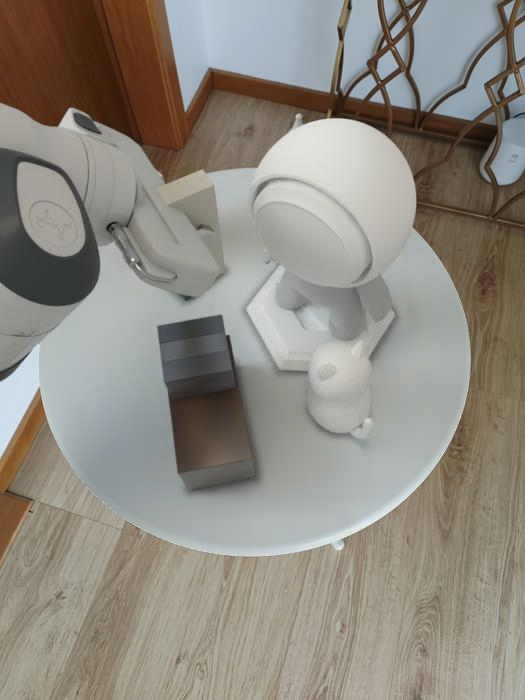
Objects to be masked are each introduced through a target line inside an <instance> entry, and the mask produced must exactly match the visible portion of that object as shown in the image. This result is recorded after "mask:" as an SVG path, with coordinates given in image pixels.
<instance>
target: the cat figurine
mask: <svg viewBox="0 0 525 700" xmlns="http://www.w3.org/2000/svg"><path fill="white" fill-rule="evenodd" d="M372 370H373V368H372V363H371V360H370V357H369V358H368V356H367V355H366V345H365V342H364V341H362V340H360V341H358V342H357V343H356V344H355V345H354V344H351V343H347V342H337V341H330V342H326V343H323V344H321V345H320V346H318V347H317V348H316V349H315V351H314V352H313V354H312V356H311V359H310V364H309V371H308V372H307V377H308V382H309V384H308V385H307V388H306V393H305V403H306V407H307V410H308V413H309V414H310V415H311V417H312V419H313V420H314V421H315V422H316V423H317V424H318V425H319V426H321V427H322V428H324V429H325V430H327V431H329V432H331V433H336V434H347V433H349V434H350V435H351V436H352V437H353V438H355V439H357V440H367V439H369V438H371V437H372V436H373V435H374V432H375V430H376V429H375V428H376V425H375V421H374V420H373V419H372V417H369V416H370V413H371V406H372V399H373V398H372V397H373V396H372V390H371V386H370V380H371V377H372ZM360 425H362V427H360Z"/></svg>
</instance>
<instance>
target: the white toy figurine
mask: <svg viewBox="0 0 525 700" xmlns="http://www.w3.org/2000/svg"><path fill="white" fill-rule="evenodd" d="M288 132H289V131H288ZM288 132H287V133H286V134H285V135H284V136H282V137H281V138H280V139H278V140H277V141H276V142H275V143H274V144H273V145H272V147H270V149H269V150H268V151H267V152H266V154H265V155H264V157H262V159H261V161H260V163H259V164H258V166H257V168H256V170H255V172H254V175H253V176H252V181H251V183H250V187H249V192H248V209H249V215H250V218H251V220H252V223H253V225H254V227H255V231H256V233H257V236H258V238H259V240H260V242H261V243H262V244H261V245H263V247H264V248H263V251H262V260H263V263H264V264H265V265H268V264H270V263H271V262H276V263H277V265H278V266H277V267H276V269H275V271H273V273H272V274H271V275H270V277H269V278H268V279H267V281H266V282H265V283H264V284H263V286H262V287H261V288H260V290H259V291H258V292H257V294H255V296H254V297H253V299H252V300H251V301H250V302H249V304H248V305H247V306H246V309H245V310H246V312H247V314H248V316H249V318H250V320H251V322H252V323H253V325H254V326H255V328H256V330H257V332H258V334H259V335H260V338H261V339H262V341H263V343H264V345H265V346H266V348H267V350H268V352H269V353H270V356H271V357H272V359H273V361H274V362H275V364H276V366H277V368H278V369H279V371H287V372H289V371H290V372H307V373H308V371H309V364H310V359H311V356H312V354H313V352H314V351H315V349H316V348H317V347H318V346H320V345H321V344H323V343H326V342H330V341H337V342H347V343H351V344H354V345H355V344H356V343H357V342H358V341H360V340H362V341H364V342H365V345H366V355H367V356H368V358H369V359H370V357H371V355H372V353H373V352H374V350H375V348H376V347H377V345H378V344H379V342H380V341H381V339H382V338H383V336H384V334H385V333H386V331H387V330H388V328H389V326H390V325H391V323H392V321H394V318H395V317H396V314H395V312H394V310H393V309H392V296H391V292H390V289H389V287H388V285H387V283H386V281H385V280H384V278H383V276H382V275H381V274H382V273H383V272H385V271H386V270H387V269H389V267H390V266H391V265H392V264H393V263H395V261H396V259H397V258H398V257H399V256H400V254H401V253H402V251H403V249H404V248H405V246H406V244H407V242H408V241H409V237H410V235H411V233H412V230H413V227H414V223H415V218H416V212H417V190H416V189H417V188H416V184H415V180H414V179H415V178H414V176H413V172H412V171H411V168H410V165H409V164H408V161H407V159H406V157H405V156H404V155H403V153H402V151H401V150H400V148H399V147H398V146H397V145H396V144H395V143H394V142H393V141H392V140H391V138H389V137H388V136H386V135H385V134H384V133H383V132H382V131H380V130H378V129H377V128H375V127H373V126H371V125H369V124H367V123H365V122H362V121H358V120H354V119H348V118H338V117H337V118H335V117H333V118H332V117H331V118H323V119H318V120H314V121H310V122H308V123H305V124H304V123H303V125H302V126H300V127H298V128H296V129H294V130H292V131H291V132H289V133H288Z"/></svg>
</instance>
